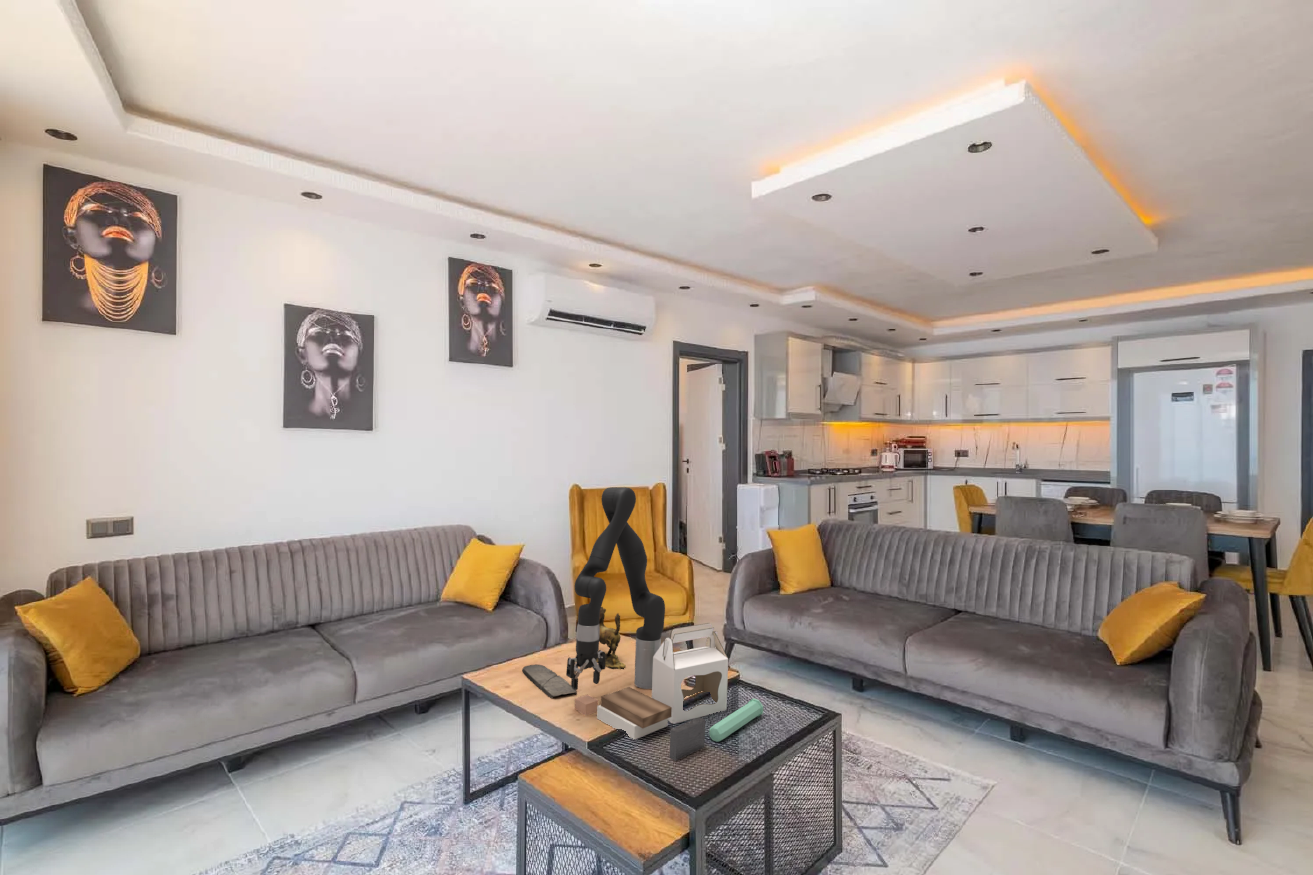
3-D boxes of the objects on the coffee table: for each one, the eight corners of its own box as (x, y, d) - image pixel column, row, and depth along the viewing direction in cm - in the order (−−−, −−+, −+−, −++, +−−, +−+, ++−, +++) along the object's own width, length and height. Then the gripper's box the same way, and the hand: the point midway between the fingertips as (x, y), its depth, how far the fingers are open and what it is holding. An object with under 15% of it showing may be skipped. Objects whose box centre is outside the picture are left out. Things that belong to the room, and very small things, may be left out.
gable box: (672, 724, 198) (675, 636, 198) (650, 708, 209) (653, 624, 209) (727, 710, 210) (730, 627, 209) (704, 695, 221) (706, 616, 221)
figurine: (598, 648, 265) (600, 600, 265) (636, 665, 246) (637, 614, 246) (573, 654, 257) (574, 605, 257) (609, 673, 238) (611, 620, 238)
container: (718, 724, 186) (760, 697, 206) (703, 725, 190) (746, 699, 209) (724, 745, 185) (766, 715, 204) (708, 746, 188) (751, 717, 208)
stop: (698, 743, 186) (699, 717, 186) (704, 747, 184) (705, 720, 184) (669, 757, 178) (670, 729, 178) (675, 760, 176) (676, 732, 176)
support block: (586, 705, 210) (587, 694, 210) (597, 711, 205) (598, 700, 205) (574, 709, 206) (574, 698, 206) (585, 716, 202) (585, 704, 202)
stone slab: (544, 661, 243) (579, 686, 218) (544, 669, 243) (579, 695, 218) (519, 666, 237) (551, 692, 212) (519, 675, 237) (551, 702, 212)
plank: (629, 695, 209) (629, 686, 209) (671, 716, 194) (671, 707, 194) (600, 705, 200) (601, 696, 200) (642, 728, 186) (643, 718, 186)
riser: (629, 706, 210) (630, 694, 210) (667, 725, 197) (667, 713, 197) (596, 718, 200) (597, 705, 200) (634, 739, 187) (634, 726, 187)
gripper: (598, 630, 213) (595, 677, 213) (563, 637, 204) (560, 687, 204) (611, 636, 208) (609, 684, 208) (576, 644, 198) (574, 695, 198)
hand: (585, 686), depth 206 cm, fingers open, 8 cm apart
